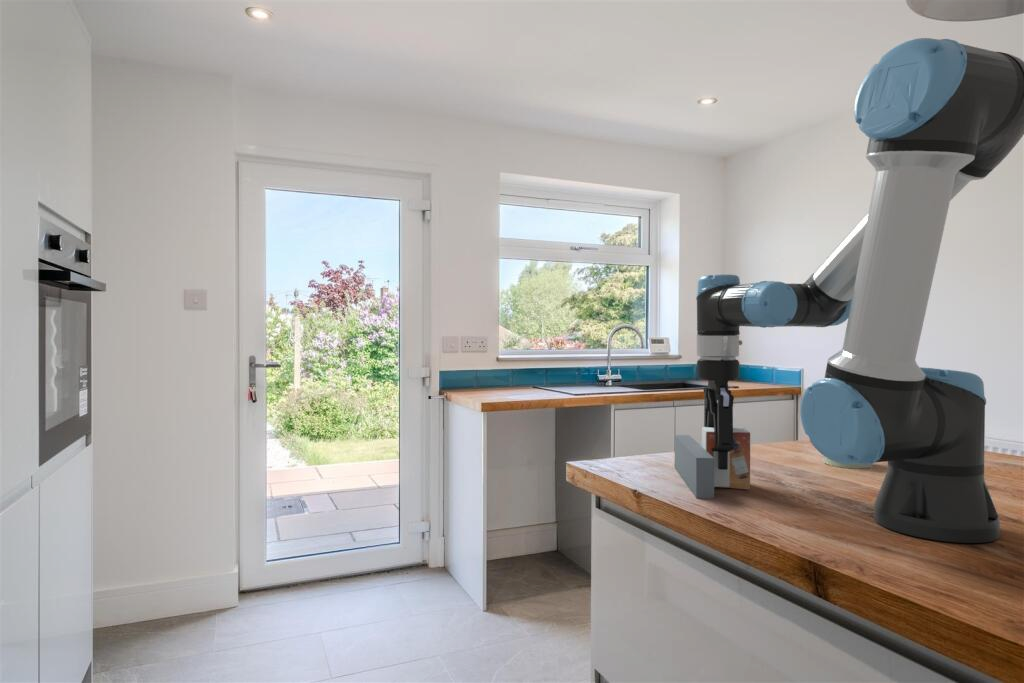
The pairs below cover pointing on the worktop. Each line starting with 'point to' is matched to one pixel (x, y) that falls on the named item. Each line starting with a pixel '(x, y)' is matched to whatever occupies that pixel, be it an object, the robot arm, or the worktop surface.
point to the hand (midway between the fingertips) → (717, 481)
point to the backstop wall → (694, 466)
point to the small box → (733, 455)
